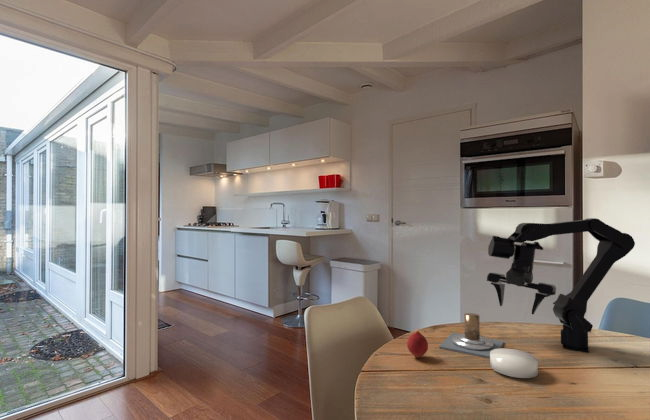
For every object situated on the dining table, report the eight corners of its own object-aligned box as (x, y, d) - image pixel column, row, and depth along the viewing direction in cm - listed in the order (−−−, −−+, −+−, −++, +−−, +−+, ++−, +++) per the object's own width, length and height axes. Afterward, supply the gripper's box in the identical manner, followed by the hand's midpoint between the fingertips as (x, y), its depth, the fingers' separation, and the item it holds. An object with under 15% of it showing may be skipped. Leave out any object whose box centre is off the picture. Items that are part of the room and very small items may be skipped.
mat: (503, 343, 112) (503, 341, 112) (495, 359, 99) (495, 357, 99) (452, 334, 121) (452, 332, 121) (439, 348, 108) (439, 346, 108)
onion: (426, 354, 103) (425, 327, 103) (429, 362, 97) (429, 333, 98) (406, 353, 104) (405, 326, 104) (408, 361, 98) (408, 332, 98)
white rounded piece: (539, 369, 93) (538, 353, 93) (536, 385, 84) (536, 368, 84) (493, 359, 99) (493, 345, 99) (486, 374, 90) (486, 358, 90)
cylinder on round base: (501, 345, 108) (501, 316, 108) (477, 353, 102) (476, 322, 102) (468, 335, 118) (467, 308, 119) (444, 341, 112) (443, 313, 112)
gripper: (484, 255, 112) (477, 303, 112) (552, 267, 99) (544, 322, 99) (495, 256, 120) (489, 301, 120) (559, 267, 107) (552, 317, 107)
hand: (516, 309), depth 111 cm, fingers open, 9 cm apart
